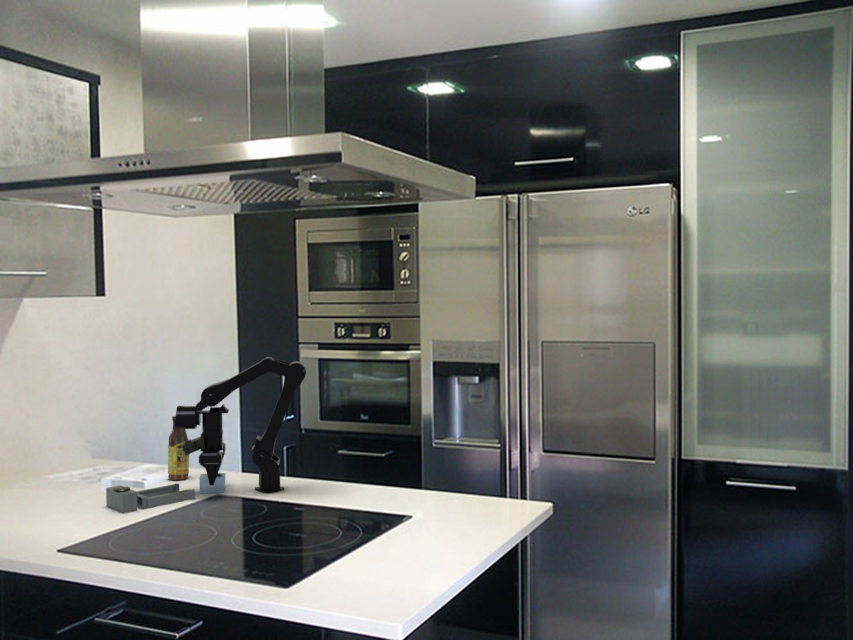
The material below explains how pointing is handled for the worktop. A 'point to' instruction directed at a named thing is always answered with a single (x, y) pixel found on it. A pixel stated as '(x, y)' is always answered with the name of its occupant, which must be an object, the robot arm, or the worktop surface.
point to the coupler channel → (145, 497)
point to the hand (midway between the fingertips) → (213, 481)
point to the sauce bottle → (177, 454)
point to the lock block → (212, 489)
